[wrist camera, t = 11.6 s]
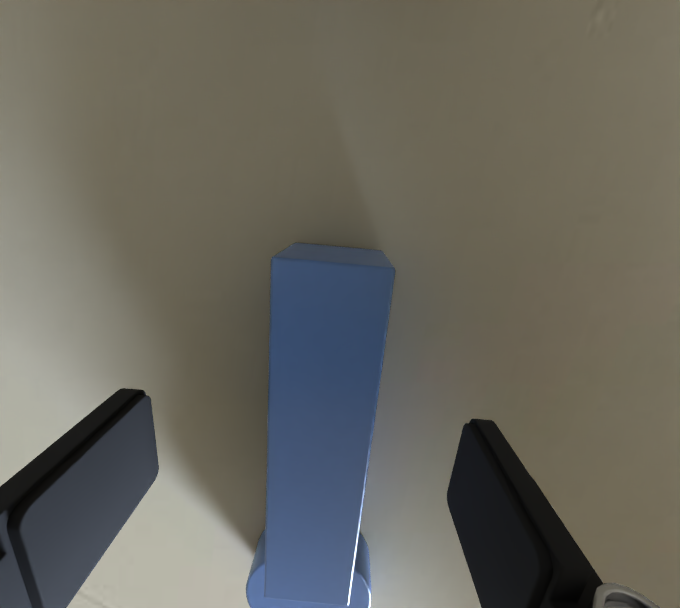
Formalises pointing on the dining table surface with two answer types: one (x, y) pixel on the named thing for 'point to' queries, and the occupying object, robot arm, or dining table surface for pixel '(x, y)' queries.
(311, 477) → the spoon
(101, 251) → the dining table surface
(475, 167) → the dining table surface
